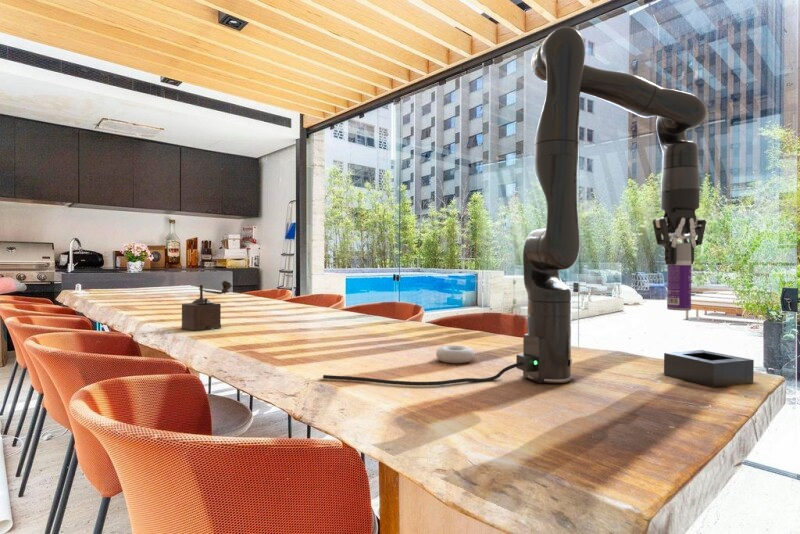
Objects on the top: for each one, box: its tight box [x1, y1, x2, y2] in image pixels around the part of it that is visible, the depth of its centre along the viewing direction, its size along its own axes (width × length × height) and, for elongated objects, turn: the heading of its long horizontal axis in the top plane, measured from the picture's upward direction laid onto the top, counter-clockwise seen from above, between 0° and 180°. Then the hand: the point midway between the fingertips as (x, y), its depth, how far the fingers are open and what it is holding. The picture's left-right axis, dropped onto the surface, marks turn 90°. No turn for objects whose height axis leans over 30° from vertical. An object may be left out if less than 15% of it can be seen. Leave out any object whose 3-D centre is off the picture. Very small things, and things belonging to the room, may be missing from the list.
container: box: [666, 242, 692, 312], centre depth 109 cm, size 5×5×15 cm
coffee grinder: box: [181, 279, 233, 332], centre depth 182 cm, size 16×11×18 cm
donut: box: [435, 345, 475, 364], centre depth 124 cm, size 10×4×10 cm
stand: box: [663, 349, 755, 388], centre depth 107 cm, size 12×12×5 cm
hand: (679, 264), depth 108 cm, fingers closed on container, 4 cm apart
